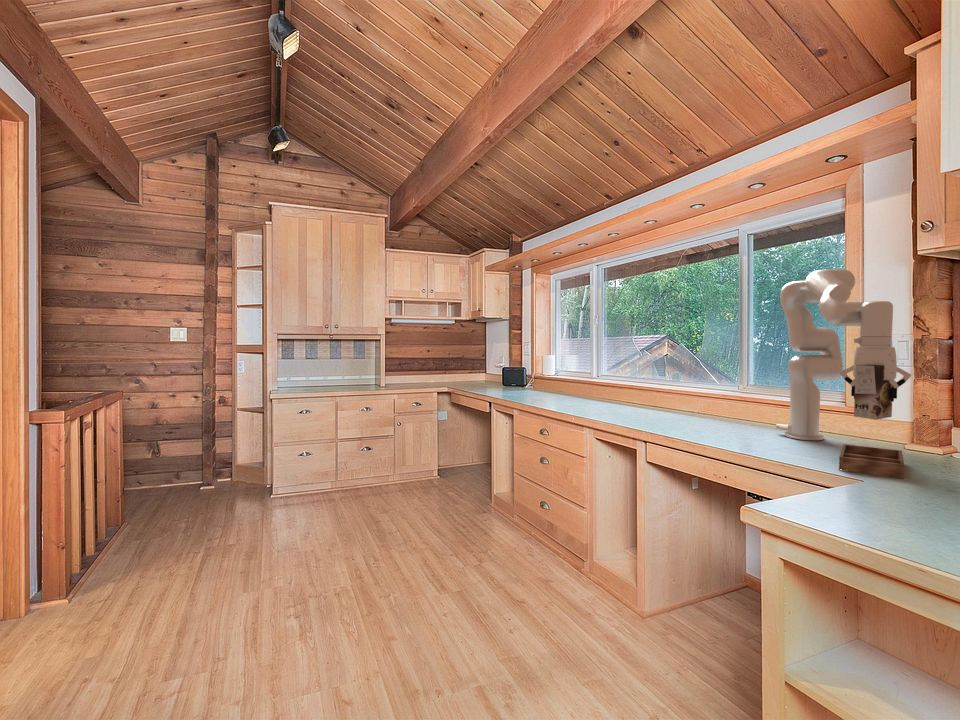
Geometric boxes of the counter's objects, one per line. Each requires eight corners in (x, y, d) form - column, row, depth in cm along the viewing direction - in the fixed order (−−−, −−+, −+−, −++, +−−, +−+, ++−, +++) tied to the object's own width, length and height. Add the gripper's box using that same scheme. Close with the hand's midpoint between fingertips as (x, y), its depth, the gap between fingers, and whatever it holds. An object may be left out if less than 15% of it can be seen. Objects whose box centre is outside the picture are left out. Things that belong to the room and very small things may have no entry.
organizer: (838, 470, 146) (839, 456, 146) (842, 456, 162) (843, 444, 161) (903, 479, 137) (904, 464, 137) (901, 463, 152) (901, 450, 152)
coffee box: (877, 420, 145) (879, 365, 144) (852, 416, 151) (854, 364, 150) (892, 417, 149) (895, 364, 148) (868, 414, 155) (870, 362, 154)
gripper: (839, 342, 151) (837, 399, 152) (914, 343, 140) (912, 403, 141) (840, 341, 157) (838, 396, 158) (913, 342, 146) (910, 400, 147)
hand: (873, 399), depth 150 cm, fingers closed on coffee box, 8 cm apart
